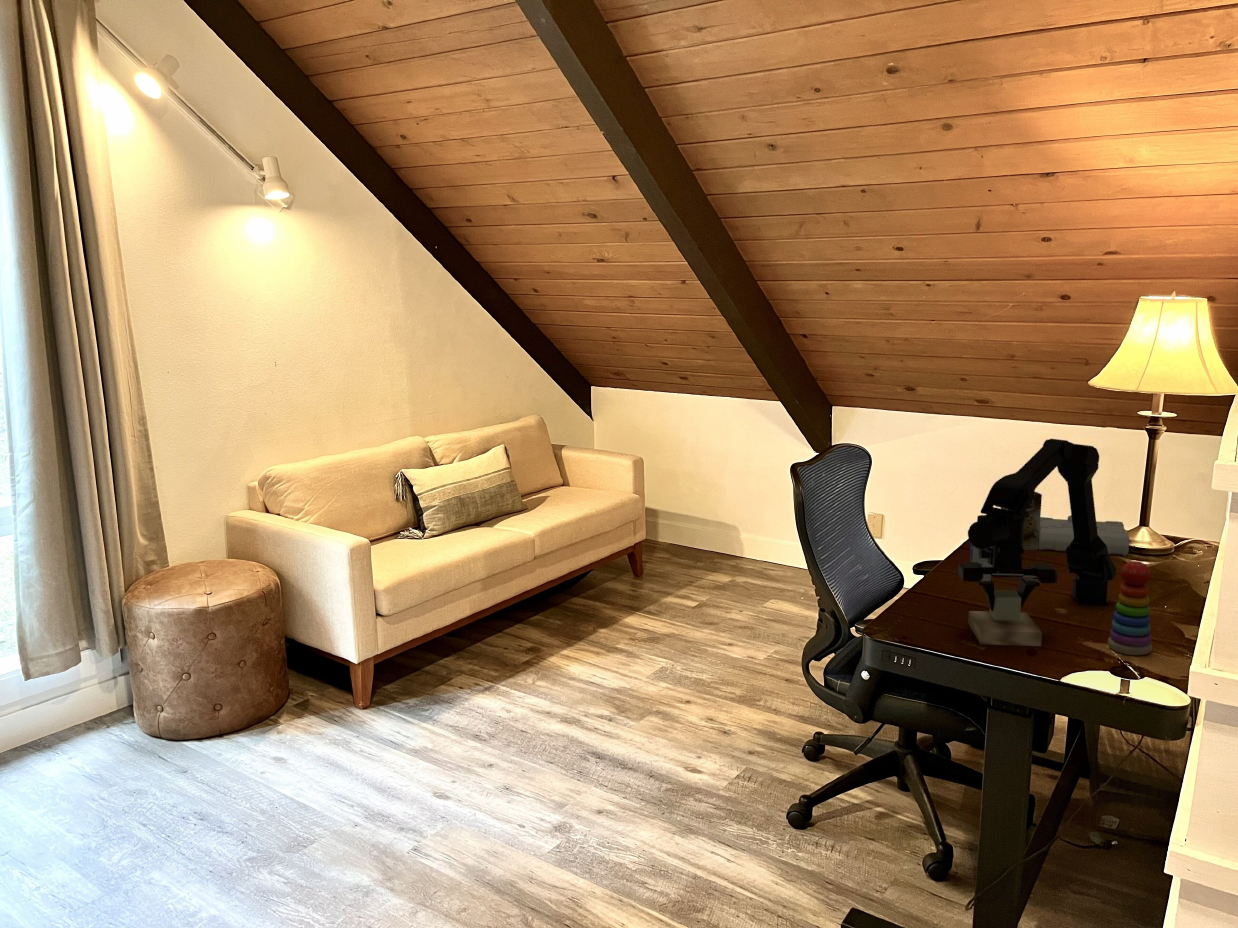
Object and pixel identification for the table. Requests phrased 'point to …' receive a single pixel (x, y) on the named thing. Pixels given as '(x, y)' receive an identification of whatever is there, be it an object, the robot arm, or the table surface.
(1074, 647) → the table surface
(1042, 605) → the table surface
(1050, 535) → the book
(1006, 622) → the birch base block
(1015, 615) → the sage cube
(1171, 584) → the table surface
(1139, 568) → the stacking toy
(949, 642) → the table surface
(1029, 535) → the coffee box
